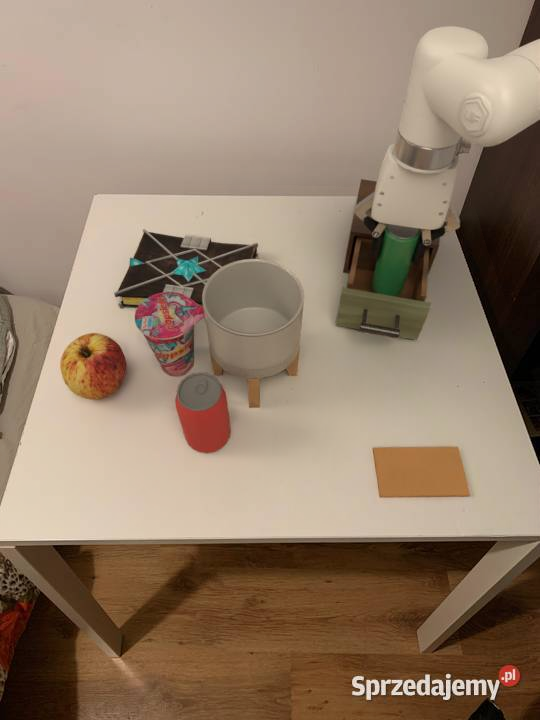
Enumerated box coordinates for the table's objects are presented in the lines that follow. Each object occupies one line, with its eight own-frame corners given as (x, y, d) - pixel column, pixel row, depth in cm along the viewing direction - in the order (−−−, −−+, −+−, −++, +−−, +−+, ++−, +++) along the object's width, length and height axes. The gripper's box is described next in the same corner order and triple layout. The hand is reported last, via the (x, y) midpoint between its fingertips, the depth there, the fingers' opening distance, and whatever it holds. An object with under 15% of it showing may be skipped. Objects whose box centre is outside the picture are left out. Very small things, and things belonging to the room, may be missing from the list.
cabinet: (423, 286, 87) (439, 245, 80) (342, 272, 89) (350, 231, 81) (427, 233, 96) (442, 191, 88) (353, 221, 97) (361, 179, 89)
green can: (404, 277, 82) (422, 219, 73) (401, 300, 79) (420, 242, 70) (373, 272, 83) (386, 214, 73) (369, 294, 80) (383, 237, 70)
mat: (456, 448, 70) (458, 446, 69) (469, 496, 66) (470, 495, 65) (372, 449, 69) (373, 447, 69) (379, 497, 65) (380, 496, 65)
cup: (164, 394, 74) (148, 347, 64) (142, 355, 78) (125, 305, 68) (218, 368, 77) (212, 320, 67) (195, 332, 81) (186, 281, 71)
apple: (122, 416, 72) (103, 379, 64) (63, 407, 73) (38, 370, 65) (140, 365, 77) (126, 325, 69) (86, 358, 78) (64, 317, 70)
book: (258, 256, 91) (258, 235, 87) (240, 326, 82) (239, 306, 78) (146, 242, 93) (141, 221, 89) (116, 308, 84) (108, 288, 80)
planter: (210, 407, 73) (197, 334, 58) (217, 338, 80) (206, 257, 66) (297, 408, 73) (305, 335, 58) (295, 339, 80) (302, 259, 66)
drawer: (415, 360, 77) (429, 330, 71) (331, 344, 79) (337, 313, 72) (421, 281, 87) (434, 247, 80) (346, 268, 89) (353, 234, 82)
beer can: (236, 419, 72) (232, 375, 62) (222, 460, 68) (215, 419, 58) (194, 408, 73) (183, 363, 63) (178, 448, 69) (164, 406, 59)
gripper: (495, 138, 62) (452, 248, 77) (360, 122, 64) (344, 231, 79) (497, 172, 58) (451, 281, 72) (353, 154, 60) (337, 263, 75)
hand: (395, 254), depth 76 cm, fingers closed on green can, 5 cm apart
